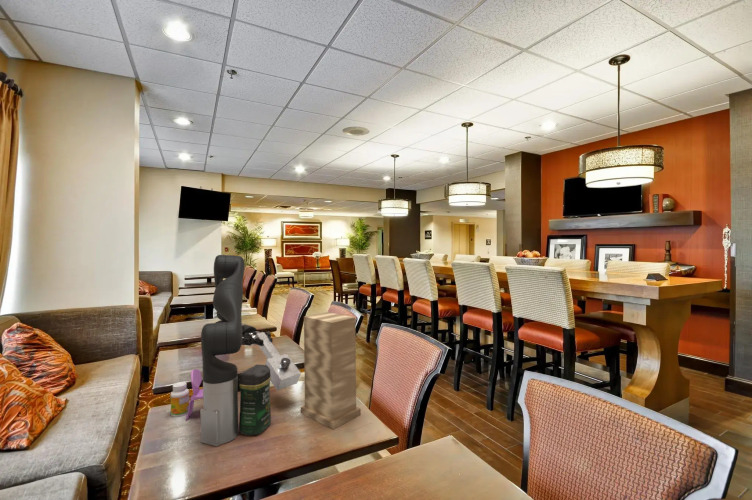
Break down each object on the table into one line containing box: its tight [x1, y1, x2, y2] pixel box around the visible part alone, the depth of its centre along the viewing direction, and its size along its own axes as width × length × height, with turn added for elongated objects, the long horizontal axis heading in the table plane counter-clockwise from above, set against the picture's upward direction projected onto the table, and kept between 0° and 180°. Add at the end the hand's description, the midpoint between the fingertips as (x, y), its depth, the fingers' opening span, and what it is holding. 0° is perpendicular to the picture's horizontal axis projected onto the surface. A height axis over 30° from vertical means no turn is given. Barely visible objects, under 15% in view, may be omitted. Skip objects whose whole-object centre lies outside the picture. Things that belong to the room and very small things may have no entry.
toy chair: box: [185, 368, 203, 422], centre depth 115 cm, size 8×9×15 cm
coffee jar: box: [238, 364, 272, 436], centre depth 106 cm, size 10×8×19 cm
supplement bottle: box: [170, 381, 190, 418], centre depth 116 cm, size 5×5×10 cm
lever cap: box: [256, 331, 302, 392], centre depth 126 cm, size 23×8×7 cm
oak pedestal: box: [300, 311, 362, 430], centre depth 115 cm, size 16×12×32 cm
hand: (267, 342), depth 129 cm, fingers closed on lever cap, 3 cm apart
